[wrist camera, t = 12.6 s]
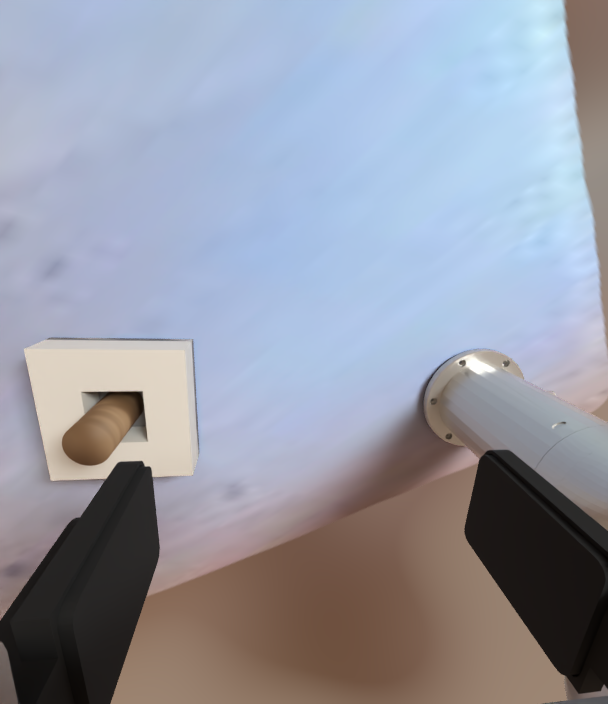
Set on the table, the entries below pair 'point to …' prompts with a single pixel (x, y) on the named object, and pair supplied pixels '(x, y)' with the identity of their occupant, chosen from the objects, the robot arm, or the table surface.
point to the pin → (102, 427)
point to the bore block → (118, 375)
